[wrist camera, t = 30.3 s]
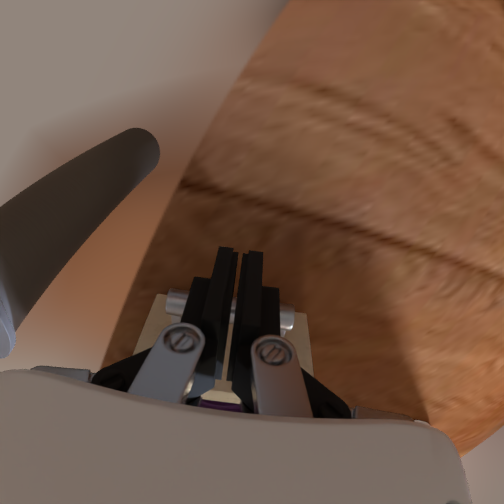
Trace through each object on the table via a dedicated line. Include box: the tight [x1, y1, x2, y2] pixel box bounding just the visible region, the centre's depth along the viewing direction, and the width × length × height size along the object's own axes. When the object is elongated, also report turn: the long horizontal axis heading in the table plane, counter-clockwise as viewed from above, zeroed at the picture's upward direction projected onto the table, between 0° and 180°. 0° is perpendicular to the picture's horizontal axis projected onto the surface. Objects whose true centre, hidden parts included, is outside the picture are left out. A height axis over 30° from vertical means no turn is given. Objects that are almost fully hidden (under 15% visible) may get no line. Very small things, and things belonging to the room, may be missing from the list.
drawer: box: [132, 288, 314, 404], centre depth 23 cm, size 18×11×8 cm, turn 172°
